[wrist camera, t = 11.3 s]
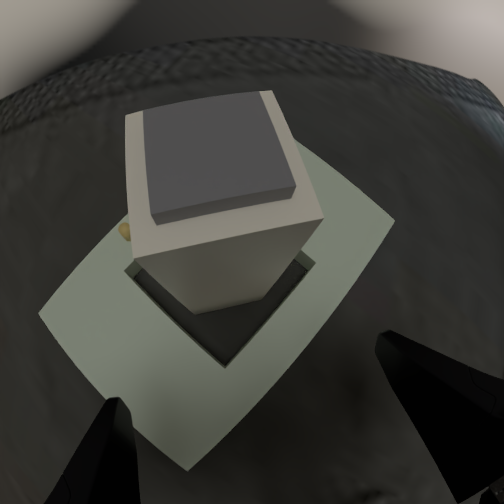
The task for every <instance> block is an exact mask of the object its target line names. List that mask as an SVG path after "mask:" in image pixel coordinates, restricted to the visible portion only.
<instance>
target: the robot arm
mask: <svg viewBox="0 0 504 504" xmlns="http://www.w3.org/2000/svg"><path fill="white" fill-rule="evenodd" d="M375 353H376V356H377V358H378V360H379V362H380V364H381V366H382V368H383V371H384V373H385V375H386V377H387V379H388V381H389V383H390V385H391V387H392V389H393V391H394V392H395V394H396V396H397V397H398V399H399V401H400V402H401V404H402V406H403V407H404V409H405V411H406V412H407V414H408V416H409V417H410V419H411V421H412V422H413V424H414V426H415V428H416V429H417V431H418V433H419V434H420V436H421V438H422V440H423V441H424V443H425V445H426V447H427V448H428V450H429V452H430V454H431V455H432V457H433V459H434V461H435V463H436V464H437V466H438V468H439V470H440V472H441V474H442V476H443V478H444V479H445V481H446V483H447V485H448V487H449V489H450V491H451V493H452V495H453V496H454V498H455V500H456V502H457V503H458V504H459V503H461V502H463V501H464V500H466V499H468V498H470V497H471V496H473V495H475V494H476V493H478V492H480V491H481V490H483V489H484V488H486V487H489V488H488V489H487V490H486V491H485V492H484V493H483V494H482V495H481V498H480V502H479V504H504V380H503V379H500V378H497V377H494V376H491V375H488V374H486V373H483V372H481V371H479V370H476V369H474V368H472V367H470V366H469V367H468V366H467V365H465V364H463V363H461V362H459V361H456V360H454V359H452V358H450V357H448V356H445V355H443V354H441V353H439V352H437V351H435V350H432V349H430V348H428V347H426V346H424V345H422V344H419V343H417V342H415V341H413V340H411V339H409V338H406V337H404V336H402V335H400V334H398V333H396V332H394V331H391V330H385V331H383V332H380V333H379V334H378V337H377V342H376V346H375ZM44 504H141V502H140V492H139V480H138V464H137V451H136V444H135V438H134V431H133V423H132V416H131V412H130V410H129V408H128V407H127V406H126V404H125V403H124V402H123V400H122V399H121V398H120V397H110V398H108V399H107V400H106V402H105V403H104V405H103V407H102V408H101V410H100V411H99V413H98V415H97V416H96V418H95V420H94V421H93V423H92V424H91V426H90V428H89V429H88V431H87V433H86V434H85V436H84V438H83V439H82V441H81V443H80V444H79V446H78V448H77V449H76V451H75V453H74V455H73V456H72V458H71V460H70V461H69V463H68V465H67V467H66V468H65V470H64V472H63V474H62V475H61V477H60V479H59V481H58V482H57V484H56V486H55V487H54V489H53V491H52V492H51V494H50V495H49V497H48V498H47V500H46V501H45V503H44Z"/></svg>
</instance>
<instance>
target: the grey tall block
mask: <svg viewBox="0 0 504 504" xmlns="http://www.w3.org/2000/svg"><path fill="white" fill-rule="evenodd" d="M125 155H126V183H127V200H128V214H129V225H130V235H131V245H132V253H133V259H134V260H135V261H136V262H137V263H138V264H139V265H140V266H141V267H142V268H143V269H145V270H146V271H147V272H148V273H149V274H150V275H151V276H152V277H153V278H154V279H155V280H156V281H157V282H158V283H159V284H161V285H162V286H163V287H164V288H165V289H166V290H167V291H168V292H169V293H170V294H172V295H173V296H174V297H175V298H176V299H177V300H178V301H179V302H180V303H182V304H183V305H184V306H185V307H186V308H187V309H188V310H190V311H191V312H192V313H193V314H194V315H197V314H201V313H206V312H210V311H215V310H219V309H224V308H228V307H233V306H237V305H241V304H245V303H250V302H254V301H258V300H262V299H263V297H264V296H265V295H266V294H267V292H268V291H269V290H270V288H271V287H272V286H273V285H274V283H275V282H276V281H277V280H278V278H279V277H280V276H281V274H282V273H283V272H284V271H285V269H286V268H287V267H288V265H289V264H290V263H291V262H292V260H293V259H294V258H295V256H296V255H297V254H298V252H299V251H300V250H301V249H302V247H303V246H304V245H305V243H306V242H307V241H308V239H309V238H310V237H311V235H312V234H313V233H314V231H315V230H316V229H317V227H318V226H319V225H320V223H321V222H322V221H323V219H324V216H323V213H322V210H321V207H320V205H319V202H318V199H317V196H316V194H315V191H314V189H313V186H312V183H311V181H310V178H309V176H308V173H307V171H306V168H305V166H304V163H303V161H302V158H301V156H300V153H299V151H298V148H297V146H296V144H295V141H294V139H293V137H292V134H291V132H290V130H289V127H288V125H287V123H286V121H285V118H284V116H283V114H282V112H281V109H280V107H279V105H278V103H277V101H276V98H275V96H274V94H273V92H272V91H256V92H246V93H237V94H229V95H221V96H214V97H208V98H201V99H195V100H190V101H184V102H179V103H174V104H169V105H165V106H160V107H156V108H151V109H147V110H143V111H140V112H136V113H132V114H129V115H126V118H125Z"/></svg>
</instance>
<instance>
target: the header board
mask: <svg viewBox="0 0 504 504" xmlns="http://www.w3.org/2000/svg"><path fill="white" fill-rule="evenodd" d="M294 141H295V144H296V146H297V148H298V151H299V153H300V156H301V158H302V161H303V163H304V166H305V168H306V171H307V173H308V176H309V178H310V181H311V183H312V186H313V189H314V191H315V194H316V196H317V199H318V202H319V205H320V207H321V210H322V213H323V216H324V219H323V221H322V222H321V223H320V225H319V226H318V227H317V229H316V230H315V231H314V233H313V234H312V235H311V237H310V238H309V239H308V241H307V242H306V243H305V245H304V246H303V247H302V249H301V250H300V251H299V252H298V254H297V255H296V256H295V258H294V259H295V260H296V261H297V262H298V263H300V264H301V265H302V266H303V267H304V268H305V269H307V270H308V271H307V272H306V274H305V275H304V276H303V277H302V279H301V280H300V281H299V282H298V283H297V285H296V286H295V287H294V288H293V289H292V291H291V292H290V293H289V294H288V295H287V297H286V298H285V299H284V300H283V301H282V302H281V304H280V305H279V306H278V307H277V308H276V309H275V311H274V312H273V313H272V314H271V315H270V316H269V318H268V319H267V320H266V321H265V322H264V323H263V325H262V326H261V327H260V328H259V329H258V330H257V331H256V333H255V334H254V335H253V336H252V337H251V338H250V339H249V340H248V342H247V343H246V344H245V345H244V346H243V347H242V348H241V349H240V350H239V352H238V353H237V354H236V355H235V356H234V357H233V358H232V359H231V360H230V361H229V363H228V364H227V365H226V366H224V365H223V364H222V363H221V362H220V361H219V360H217V359H216V358H215V357H214V356H213V355H212V354H211V353H209V352H208V351H207V350H206V349H205V348H204V347H203V346H202V345H201V344H199V343H198V342H197V341H196V340H195V339H194V338H193V337H192V336H191V335H190V334H189V333H187V332H186V331H185V330H184V329H183V328H182V327H181V326H180V325H179V324H178V323H177V322H176V321H175V320H174V319H173V318H172V317H171V316H170V315H169V314H168V313H167V312H166V311H165V310H164V309H163V308H162V307H161V306H160V305H159V304H158V303H157V302H156V301H155V300H154V299H153V298H152V297H151V296H150V295H149V294H148V293H147V292H146V291H145V290H144V289H143V288H142V287H141V286H140V285H139V284H138V283H137V282H136V281H135V280H134V277H135V276H136V275H137V274H138V272H139V271H140V270H141V269H142V267H141V266H140V265H139V264H138V263H137V262H136V261H135V260H134V259H133V253H132V245H131V235H130V225H129V214H127V215H126V216H125V217H124V218H123V219H122V220H121V221H120V222H119V223H118V224H117V225H116V226H115V227H114V228H113V229H112V230H111V231H110V232H109V233H108V234H107V235H106V236H105V237H104V238H103V239H102V240H101V241H100V242H99V243H98V244H97V246H96V247H95V248H94V249H93V250H92V251H91V252H90V253H89V254H88V255H87V256H86V257H85V259H84V260H83V261H82V262H81V263H80V264H79V265H78V266H77V267H76V269H75V270H74V271H73V272H72V273H71V274H70V275H69V277H68V278H67V279H66V280H65V281H64V282H63V284H62V285H61V286H60V287H59V288H58V290H57V291H56V292H55V293H54V294H53V296H52V297H51V298H50V299H49V301H48V302H47V303H46V304H45V306H44V307H43V308H42V309H41V311H40V312H39V313H38V314H39V315H40V317H41V318H42V320H43V321H44V323H45V324H46V326H47V327H48V329H49V330H50V331H51V333H52V334H53V336H54V337H55V338H56V340H57V341H58V343H59V344H60V345H61V347H62V348H63V349H64V351H65V352H66V353H67V354H68V356H69V357H70V358H71V360H72V361H73V362H74V363H75V365H76V366H77V367H78V368H79V369H80V371H81V372H82V373H83V374H84V375H85V377H86V378H87V379H88V380H89V381H90V382H91V384H92V385H93V386H94V387H95V388H96V389H97V390H98V391H99V392H100V394H101V395H102V396H103V397H104V398H105V399H106V400H107V399H108V398H110V397H120V398H121V399H122V400H123V402H124V403H125V404H126V406H127V407H128V408H129V410H130V412H131V416H132V423H133V427H134V428H135V429H136V430H137V431H139V432H140V433H141V434H142V435H143V436H144V437H145V438H146V439H148V440H149V441H150V442H151V443H152V444H153V445H155V446H156V447H157V448H158V449H159V450H160V451H162V452H163V453H164V454H165V455H167V456H168V457H169V458H170V459H172V460H173V461H174V462H176V463H177V464H178V465H179V466H181V467H182V468H183V469H185V470H186V471H188V470H189V469H190V468H192V467H193V466H194V465H195V464H196V463H197V462H198V461H199V460H200V459H202V458H203V457H204V456H205V455H206V454H207V453H208V452H209V451H210V450H211V449H212V448H213V447H214V446H215V445H216V444H217V443H218V442H220V441H221V440H222V439H223V438H224V437H225V436H226V435H227V434H228V433H229V432H230V431H231V430H232V429H233V428H234V427H235V426H236V425H237V424H238V423H239V422H240V421H241V419H242V418H243V417H244V416H245V415H246V414H247V413H248V412H249V411H250V410H251V409H252V408H253V407H254V406H255V405H256V404H257V403H258V402H259V400H260V399H261V398H262V397H263V396H264V395H265V394H266V393H267V392H268V391H269V389H270V388H271V387H272V386H273V385H274V384H275V383H276V382H277V380H278V379H279V378H280V377H281V376H282V375H283V374H284V372H285V371H286V370H287V369H288V368H289V367H290V365H291V364H292V363H293V362H294V361H295V359H296V358H297V357H298V356H299V355H300V353H301V352H302V351H303V350H304V349H305V347H306V346H307V345H308V344H309V342H310V341H311V340H312V339H313V337H314V336H315V335H316V334H317V332H318V331H319V330H320V328H321V327H322V326H323V325H324V323H325V322H326V321H327V319H328V318H329V317H330V315H331V314H332V313H333V311H334V310H335V309H336V307H337V306H338V305H339V303H340V302H341V301H342V299H343V298H344V296H345V295H346V294H347V292H348V291H349V290H350V288H351V287H352V285H353V284H354V282H355V281H356V280H357V278H358V277H359V275H360V274H361V272H362V271H363V269H364V268H365V267H366V265H367V264H368V262H369V261H370V259H371V258H372V256H373V255H374V253H375V252H376V250H377V248H378V247H379V245H380V244H381V242H382V241H383V239H384V238H385V236H386V234H387V233H388V231H389V230H390V228H391V226H392V225H393V223H394V222H395V220H394V219H393V218H391V217H390V216H389V215H388V214H387V213H386V212H385V211H384V210H383V209H381V208H380V207H379V206H378V205H377V204H376V203H375V202H373V201H372V200H371V199H370V198H369V197H368V196H366V195H365V194H364V193H363V192H362V191H361V190H359V189H358V188H357V187H356V186H354V185H353V184H352V183H351V182H350V181H348V180H347V179H346V178H345V177H343V176H342V175H341V174H340V173H338V172H337V171H336V170H335V169H333V168H332V167H331V166H329V165H328V164H327V163H326V162H324V161H323V160H322V159H320V158H319V157H318V156H316V155H315V154H314V153H312V152H311V151H310V150H308V149H307V148H305V147H304V146H303V145H301V144H300V143H299V142H297V141H296V140H294Z"/></svg>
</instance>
